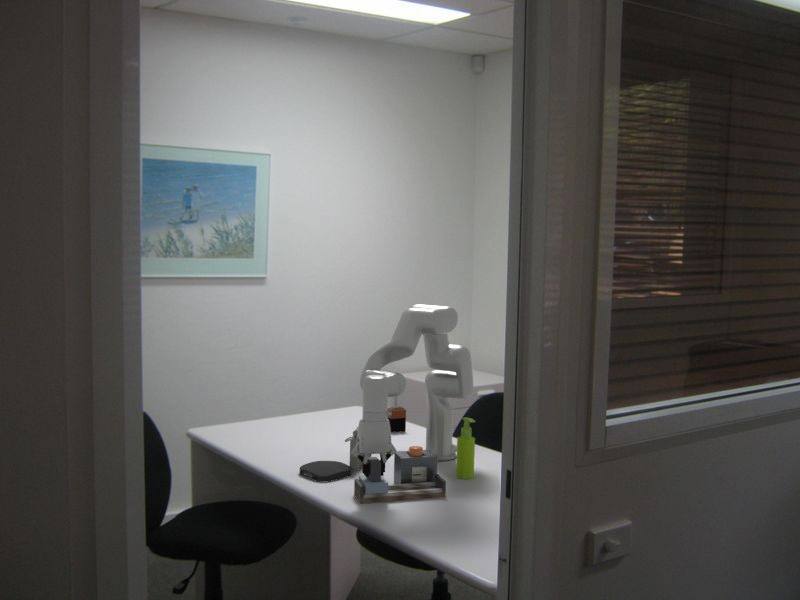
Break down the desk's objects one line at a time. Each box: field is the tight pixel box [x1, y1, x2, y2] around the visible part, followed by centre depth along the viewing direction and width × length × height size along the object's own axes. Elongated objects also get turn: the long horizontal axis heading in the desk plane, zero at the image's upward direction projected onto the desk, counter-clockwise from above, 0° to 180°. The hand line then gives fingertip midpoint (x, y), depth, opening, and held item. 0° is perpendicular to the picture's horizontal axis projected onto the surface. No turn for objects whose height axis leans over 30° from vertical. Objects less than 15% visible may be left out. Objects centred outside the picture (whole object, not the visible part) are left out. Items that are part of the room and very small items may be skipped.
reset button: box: [408, 445, 424, 457], centre depth 259 cm, size 4×4×4 cm
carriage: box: [358, 456, 389, 494], centre depth 245 cm, size 7×9×9 cm
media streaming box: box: [299, 460, 353, 483], centre depth 269 cm, size 15×15×3 cm
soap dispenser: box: [455, 416, 476, 480], centre depth 268 cm, size 6×7×20 cm
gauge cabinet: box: [393, 449, 438, 485], centre depth 259 cm, size 12×8×10 cm
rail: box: [353, 473, 447, 504], centre depth 248 cm, size 27×8×5 cm, turn 106°
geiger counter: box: [344, 426, 372, 472], centre depth 284 cm, size 14×6×25 cm
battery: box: [387, 405, 407, 433], centre depth 328 cm, size 4×7×10 cm, turn 116°
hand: (373, 474), depth 245 cm, fingers open, 4 cm apart
